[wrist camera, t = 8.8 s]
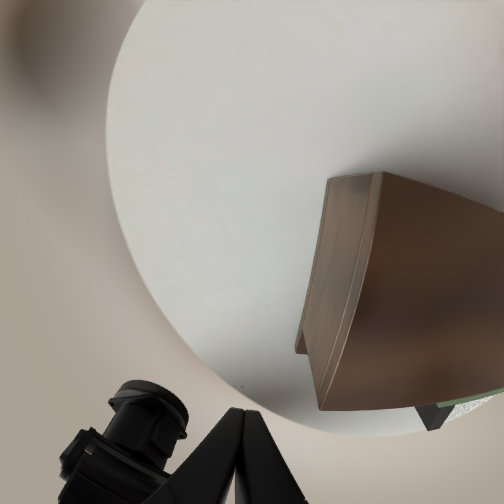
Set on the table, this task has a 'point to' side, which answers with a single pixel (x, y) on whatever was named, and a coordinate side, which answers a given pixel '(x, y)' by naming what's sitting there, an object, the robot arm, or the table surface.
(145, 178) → the table surface
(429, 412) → the sliding door
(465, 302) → the cupboard
